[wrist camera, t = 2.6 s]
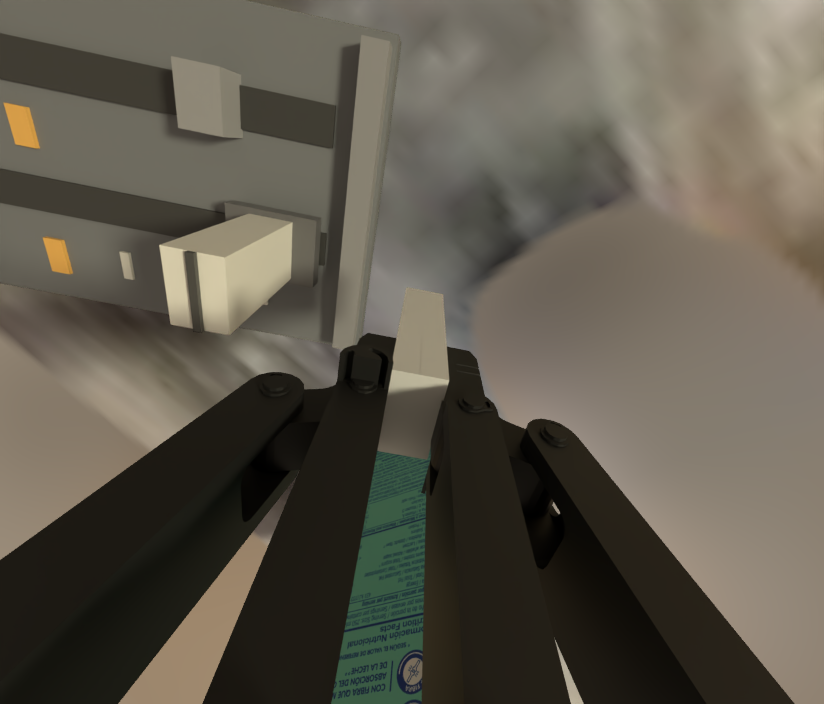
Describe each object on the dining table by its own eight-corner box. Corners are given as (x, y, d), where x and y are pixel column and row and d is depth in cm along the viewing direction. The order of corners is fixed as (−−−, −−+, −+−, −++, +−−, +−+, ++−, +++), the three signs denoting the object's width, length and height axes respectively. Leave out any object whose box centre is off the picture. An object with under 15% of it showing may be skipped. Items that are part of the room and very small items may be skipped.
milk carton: (341, 456, 31) (113, 1232, 9) (441, 420, 28) (474, 1349, 6) (393, 523, 34) (325, 1184, 12) (485, 495, 32) (602, 1248, 10)
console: (-131, -77, 16) (-260, -129, 13) (401, 43, 18) (394, 20, 15) (-4, 270, 24) (-68, 288, 21) (361, 338, 25) (351, 365, 22)
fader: (233, 199, 19) (116, 230, 12) (321, 217, 20) (257, 257, 12) (236, 266, 21) (135, 327, 14) (317, 282, 21) (259, 350, 14)
